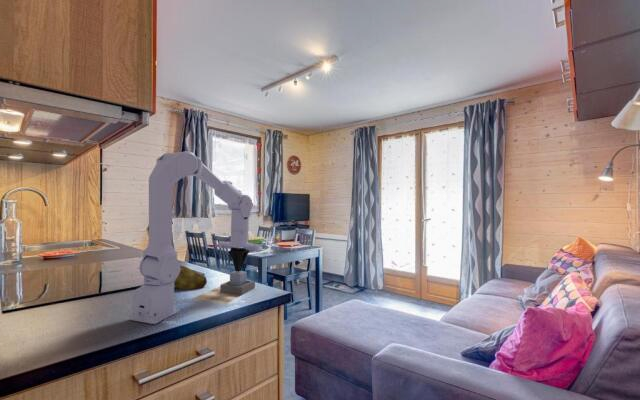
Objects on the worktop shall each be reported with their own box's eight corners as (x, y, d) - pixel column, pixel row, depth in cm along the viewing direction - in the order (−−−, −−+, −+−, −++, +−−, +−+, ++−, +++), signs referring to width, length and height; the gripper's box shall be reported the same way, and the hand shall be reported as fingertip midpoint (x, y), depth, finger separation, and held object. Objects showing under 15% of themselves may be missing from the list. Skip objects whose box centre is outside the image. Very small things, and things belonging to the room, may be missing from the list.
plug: (240, 292, 104) (240, 274, 104) (229, 291, 105) (229, 273, 105) (247, 288, 108) (247, 271, 108) (236, 287, 110) (237, 270, 110)
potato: (196, 294, 103) (196, 269, 103) (160, 291, 105) (161, 266, 105) (209, 287, 111) (209, 264, 111) (175, 284, 113) (176, 262, 113)
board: (226, 305, 93) (226, 303, 93) (191, 300, 97) (191, 298, 97) (255, 289, 110) (255, 287, 110) (225, 285, 114) (225, 283, 114)
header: (241, 295, 101) (242, 287, 101) (220, 292, 104) (220, 284, 104) (255, 288, 110) (255, 280, 110) (234, 285, 112) (234, 278, 112)
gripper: (264, 230, 108) (263, 270, 108) (227, 228, 113) (226, 266, 113) (254, 232, 102) (253, 275, 102) (215, 229, 106) (214, 270, 106)
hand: (238, 270), depth 107 cm, fingers closed
